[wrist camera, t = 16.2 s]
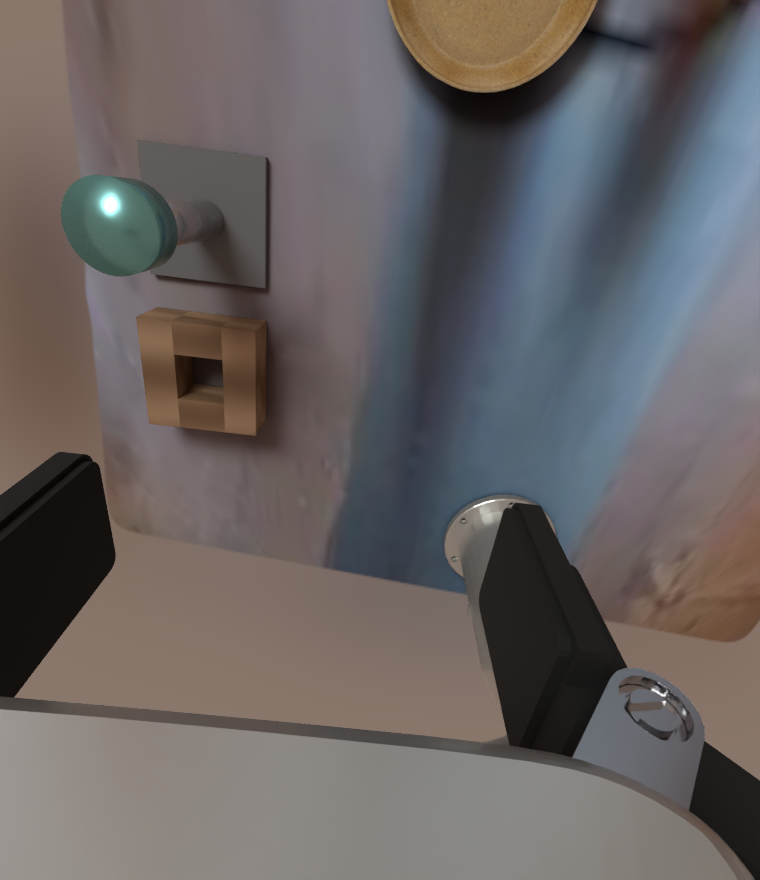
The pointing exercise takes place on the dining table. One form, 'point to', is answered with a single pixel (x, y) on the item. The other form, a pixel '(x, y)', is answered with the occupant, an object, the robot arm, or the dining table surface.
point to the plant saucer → (488, 38)
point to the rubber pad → (235, 193)
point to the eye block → (172, 377)
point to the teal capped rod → (132, 223)
